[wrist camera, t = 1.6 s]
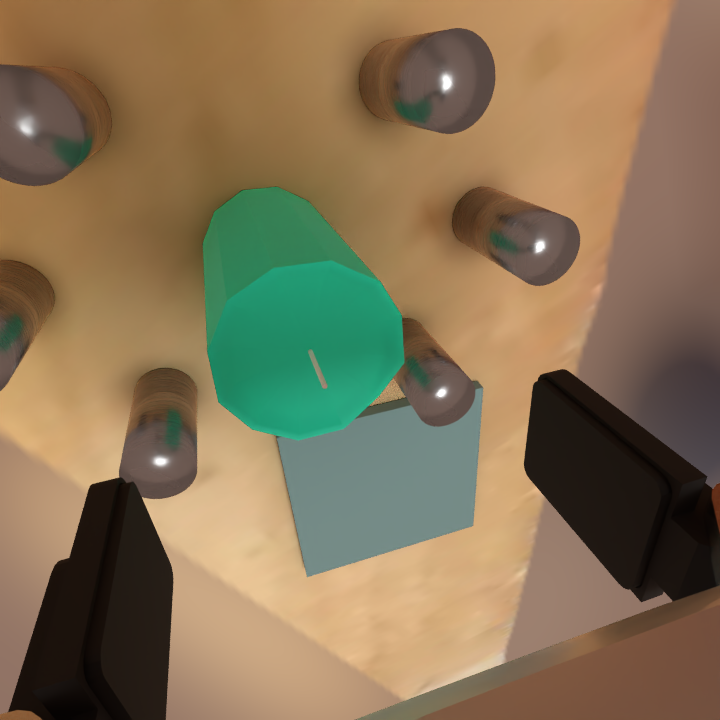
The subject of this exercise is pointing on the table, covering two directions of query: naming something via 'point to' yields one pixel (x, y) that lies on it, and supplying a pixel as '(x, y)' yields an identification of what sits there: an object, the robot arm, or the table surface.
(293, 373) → the candle
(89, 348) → the table surface
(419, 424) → the mat
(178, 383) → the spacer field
